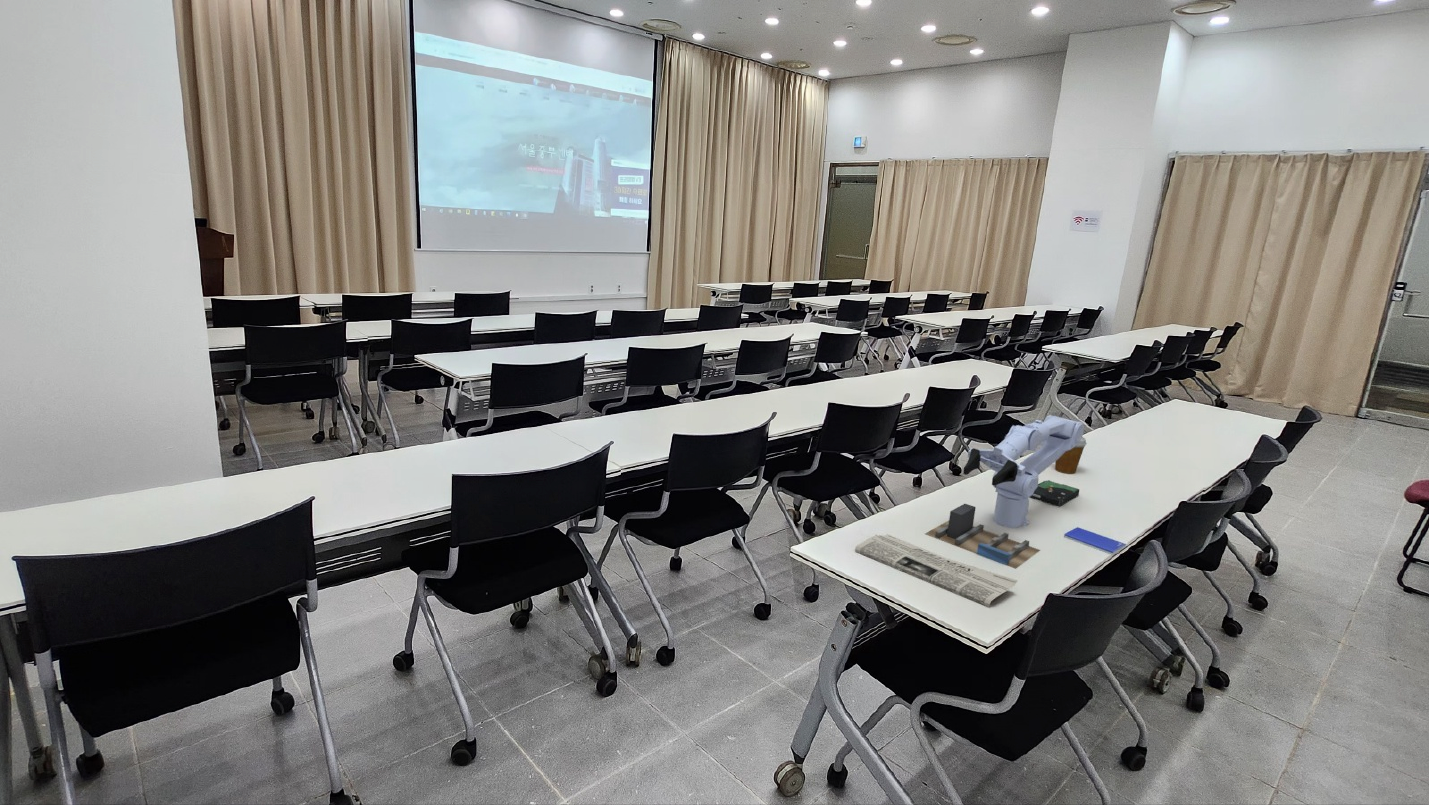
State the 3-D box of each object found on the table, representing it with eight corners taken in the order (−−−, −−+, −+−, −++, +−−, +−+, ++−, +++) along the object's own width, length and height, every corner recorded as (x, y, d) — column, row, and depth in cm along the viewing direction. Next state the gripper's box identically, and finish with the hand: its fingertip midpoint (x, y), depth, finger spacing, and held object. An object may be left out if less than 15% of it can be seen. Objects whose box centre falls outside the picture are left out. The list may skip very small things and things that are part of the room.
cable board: (951, 521, 193) (953, 510, 192) (1039, 553, 177) (1042, 541, 176) (923, 536, 183) (925, 525, 182) (1015, 571, 167) (1017, 559, 166)
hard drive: (1126, 543, 183) (1078, 526, 192) (1113, 551, 178) (1064, 533, 187) (1125, 548, 183) (1077, 531, 192) (1112, 557, 178) (1063, 538, 187)
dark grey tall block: (961, 527, 188) (964, 503, 186) (971, 531, 186) (975, 507, 184) (946, 536, 182) (950, 511, 180) (957, 540, 180) (961, 514, 178)
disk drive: (1059, 509, 207) (1078, 497, 217) (1061, 500, 207) (1080, 488, 217) (1024, 498, 215) (1044, 486, 224) (1026, 489, 214) (1046, 478, 224)
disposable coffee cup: (1057, 464, 246) (1063, 431, 243) (1085, 472, 239) (1092, 438, 235) (1044, 469, 240) (1050, 435, 237) (1072, 477, 233) (1079, 443, 230)
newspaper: (854, 553, 173) (856, 540, 172) (881, 538, 182) (882, 526, 181) (995, 612, 150) (997, 597, 149) (1017, 592, 158) (1020, 578, 157)
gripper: (981, 431, 186) (953, 453, 178) (1035, 448, 176) (1007, 473, 168) (979, 453, 189) (952, 476, 182) (1032, 472, 179) (1005, 497, 172)
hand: (978, 476), depth 175 cm, fingers open, 7 cm apart
